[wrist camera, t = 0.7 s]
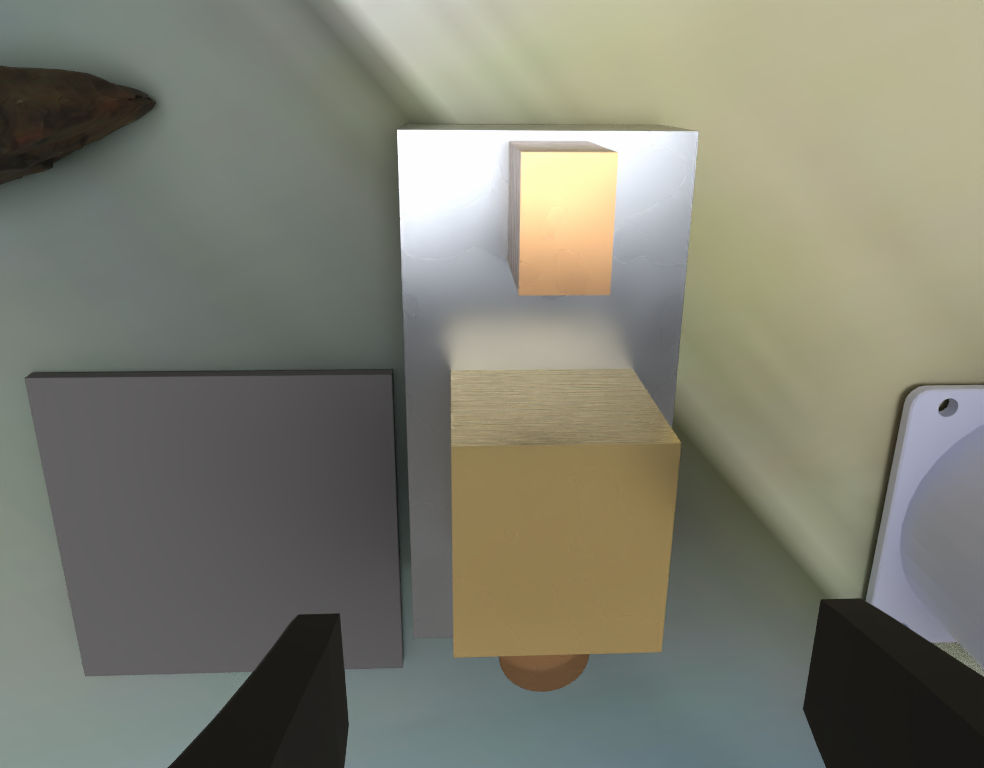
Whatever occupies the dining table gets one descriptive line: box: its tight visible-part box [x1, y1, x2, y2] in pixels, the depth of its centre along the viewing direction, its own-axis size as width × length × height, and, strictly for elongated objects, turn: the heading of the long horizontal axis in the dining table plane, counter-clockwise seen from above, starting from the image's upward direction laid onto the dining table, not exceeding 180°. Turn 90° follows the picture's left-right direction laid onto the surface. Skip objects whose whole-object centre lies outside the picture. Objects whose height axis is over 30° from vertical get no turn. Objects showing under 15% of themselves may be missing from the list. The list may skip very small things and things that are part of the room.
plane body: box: [397, 124, 699, 692], centre depth 18 cm, size 6×12×6 cm, turn 0°
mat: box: [25, 369, 403, 676], centre depth 22 cm, size 9×9×1 cm
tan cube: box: [451, 369, 681, 657], centre depth 17 cm, size 4×4×4 cm
